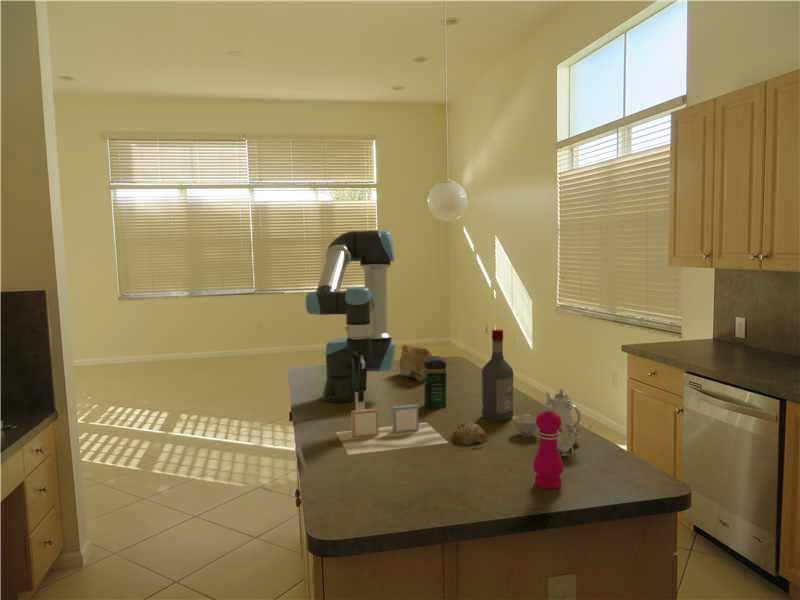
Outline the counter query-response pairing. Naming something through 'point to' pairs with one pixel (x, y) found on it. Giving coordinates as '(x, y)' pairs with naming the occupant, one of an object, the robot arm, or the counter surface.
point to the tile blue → (405, 418)
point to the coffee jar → (435, 382)
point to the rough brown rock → (413, 361)
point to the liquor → (497, 383)
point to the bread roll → (469, 434)
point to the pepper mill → (548, 450)
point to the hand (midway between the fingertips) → (360, 410)
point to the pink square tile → (364, 423)
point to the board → (390, 440)
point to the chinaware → (568, 428)
